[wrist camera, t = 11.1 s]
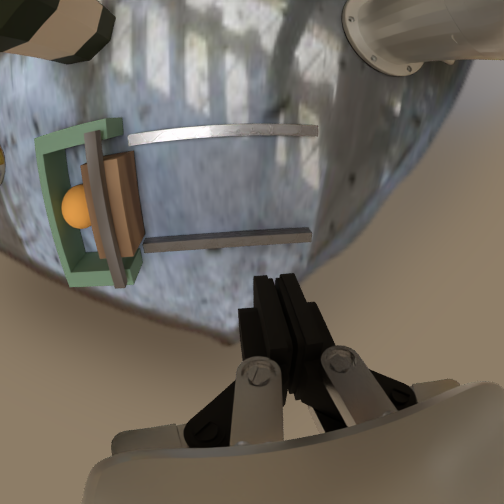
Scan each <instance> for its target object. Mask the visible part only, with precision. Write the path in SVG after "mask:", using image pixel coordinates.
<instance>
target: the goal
mask: <svg viewBox="0 0 504 504" xmlns="http://www.w3.org/2000/svg"><path fill="white" fill-rule="evenodd" d="M96 130H100V132H101V140H103V139H108V138H112V137H116V136H120V135H123V121H122V117H120V118H106V119H101V120H97V121H92V122H88V123H84V124H80V125H77V126H73V127H69V128H66V129H62V130H59V131H56V132H53V133H49V134H46V135H43V136H40V137H37V138H35V139H34V141H35V150H36V158H37V165H38V172H39V178H40V183H41V189H42V194H43V199H44V203H45V208H46V212H47V216H48V220H49V224H50V228H51V232H52V235H53V239H54V242H55V245H56V249H57V252H58V255H59V258H60V261H61V264H62V267H63V270H64V273H65V276H66V278H67V281H68V284H69V286H70V287H86V286H112V285H114V283H113V280H112V277H111V273H110V270H109V266H108V263H107V259H106V258H105V259H100V257H99V254H98V252H89V253H86V252H85V248H84V245H83V241H82V237H81V233H80V229H78V228H74V227H72V226H70V225H69V224H68V223H67V222H66V221H65V219H64V217H63V215H62V208H61V206H62V201H63V198H64V196H65V194H66V193H67V192H68V190H70V189H71V187H70V181H69V175H68V169H67V162H66V154H65V148H68V147H72V146H76V145H81V144H85V142H84V133H87V132H92V131H96ZM121 258H122V262H123V266H124V270H125V273H126V277H127V281H128V282H127V285H134V283H135V280H136V278H137V275H138V273H139V271H140V268H141V266H142V263H143V261H142V256H141V251H140V248H138V249H137V251H136V253H135V255H134V256H133V257H121Z"/></svg>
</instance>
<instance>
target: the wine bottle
mask: <svg viewBox="0 0 504 504" xmlns="http://www.w3.org/2000/svg"><path fill="white" fill-rule="evenodd" d="M115 18H116V17H115V16H114V15H113V14H111V13H110V12H109V11H108V10H107V9H106V8H105V7H104V6H103V5H102V4H101V3H100V2H98V1H97V0H0V52H5V53H12V54H19V55H25V56H30V57H36V58H41V59H46V60H51V61H55V62H59V63H64V64H72V63H77V62H83V61H89V60H91V59H92V58H93V57H94V56H95V55H96V54H97V53H98V52H99V51H100V50H101V49H102V48H103V47H104V46H105V45H106V44H107V43H108V42H109V41H110V39H111V35H112V30H113V26H114V22H115Z"/></svg>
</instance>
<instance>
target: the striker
mask: <svg viewBox="0 0 504 504" xmlns="http://www.w3.org/2000/svg"><path fill="white" fill-rule="evenodd" d="M84 142H85V151H86V159H87V163H85V164H83V165H81V166H80V167H81V174H82V180H83V186H84V192H85V197H86V202H87V208H88V212H89V217H90V222H91V226H92V230H93V234H94V238H95V242H96V246H97V250H98V254H99V257H100V259H105V258H106V259H107V263H108V266H109V270H110V273H111V277H112V280H113V283H114V287H115V288H125V287H126V285H127V282H128V281H127V277H126V273H125V270H124V266H123V262H122V258H121V257H133V256H134V255H135V253H136V251H137V249H138V247H139V245H140V243H141V241H142V239H143V237H144V235H145V231H144V225H143V219H142V213H141V206H140V200H139V193H138V185H137V177H136V169H135V160H134V151H129V152H122V153H116V154H111V155H105V156H103V152H102V143H101V132H100V130H96V131H92V132H87V133H84Z"/></svg>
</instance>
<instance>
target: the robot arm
mask: <svg viewBox="0 0 504 504" xmlns="http://www.w3.org/2000/svg"><path fill="white" fill-rule="evenodd" d="M342 23H343V27H344V31H345V33H346V36H347V38H348V40H349V42H350V44H351V45H352V47H353V48H354V50H355V51H356V52H357V54H358V55H359V56H360V57H361V58H362V59H363V60H364V61H365V62H366V63H368V64H369V65H370V66H372V67H373V68H374V69H376V70H378V71H380V72H382V73H385V74H387V75H392V76H407V75H411V74H413V73H415V72H417V71H418V70H419V69H420V68H421V67H422V65H423V64H424V62H429V61H442V62H444V63H447V64H449V65H452V64H453V63H454V61H455V60H465V59H483V60H484V59H485V60H487V59H488V60H504V0H348V1H347V2H346V4H345V6H344V8H343V13H342ZM371 59H372V60H371ZM253 291H254V308H242V309H238V318H239V332H240V342H241V350H242V358H243V362H242V363H241V364H240V365H239V367H238V369H237V372H236V380H235V381H234V382H233V383H232V384H230V385H229V386H228V387H227V388H226V389H225V390H224V391H223V392H222V393H221V394H219V395H218V396H217V397H216V398H215V399H214V400H213V401H212V402H210V403H209V404H208V405H207V406H206V407H205V408H203V410H201V411H200V412H199V413H198V414H196V415H195V416H194V417H193V418H192V419H190V421H189V422H188V423H187V424H182V425H177V426H176V424H170V425H164V426H158V427H152V428H145V429H137V430H129V431H123V432H120V433H118V434H117V435H116V436H115V437H114V439H113V440H112V445H111V450H112V456H110V457H108V458H105V459H103V460H101V461H100V462H98V463H97V464H96V465H95V466H94V467H93V468H92V469H91V471H90V473H89V475H88V478H87V481H86V484H85V488H84V492H83V498H82V504H504V389H503V388H502V387H501V386H500V385H499V384H497V383H494V382H487V381H482V382H472V383H467V384H464V385H460V384H459V383H458V382H457V381H455V380H453V379H444V380H438V381H432V382H424V383H416V384H412V386H410V387H409V386H408V385H406V384H404V383H401V382H399V381H397V380H394V379H392V378H389V377H386V376H384V375H382V374H379V373H377V372H375V371H372V370H370V369H368V367H367V366H366V365H365V363H364V362H363V361H362V359H361V358H360V356H359V355H358V354H357V353H356V352H355V351H354V350H353V349H351V348H349V347H346V346H338V345H337V346H336V345H335V343H334V341H333V339H332V337H331V335H330V332H329V330H328V328H327V326H326V323H325V321H324V319H323V317H322V315H321V312H320V310H319V308H318V306H317V304H316V303H315V302H306V299H305V298H304V295H303V292H302V290H301V288H300V285H299V283H298V281H297V279H296V276H295V274H294V273H289V274H281V275H280V278H276V280H275V285H274V282H273V279H272V278H269V279H268V276H267V275H263V276H254V278H253ZM287 391H289V394H293V393H294V396H295V400H301V401H302V402H303V403H305V404H307V405H308V409H309V412H310V414H311V416H312V418H313V420H314V423H315V425H316V427H317V429H318V431H319V433H320V434H318V435H313V436H308V437H303V438H297V439H292V440H285V441H284V434H283V406H284V405H285V402H286V396H287Z"/></svg>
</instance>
